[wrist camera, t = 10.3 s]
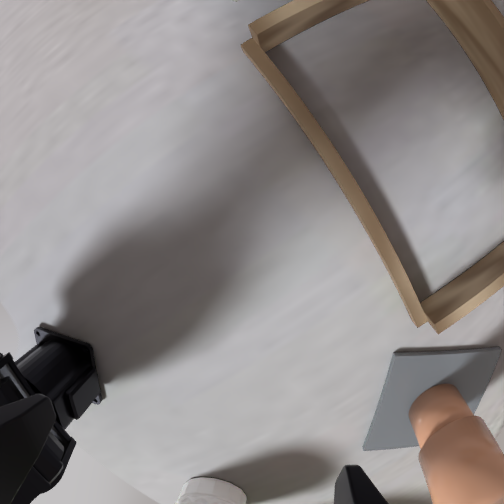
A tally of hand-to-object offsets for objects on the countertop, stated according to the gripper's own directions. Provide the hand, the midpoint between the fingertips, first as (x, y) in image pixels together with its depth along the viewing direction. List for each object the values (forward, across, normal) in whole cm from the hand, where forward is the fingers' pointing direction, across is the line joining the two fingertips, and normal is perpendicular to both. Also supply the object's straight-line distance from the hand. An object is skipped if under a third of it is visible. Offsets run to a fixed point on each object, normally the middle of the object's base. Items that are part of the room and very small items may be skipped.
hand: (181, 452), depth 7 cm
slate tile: (+13, -16, +8) cm, 22 cm away
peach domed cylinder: (+12, -16, +8) cm, 22 cm away
